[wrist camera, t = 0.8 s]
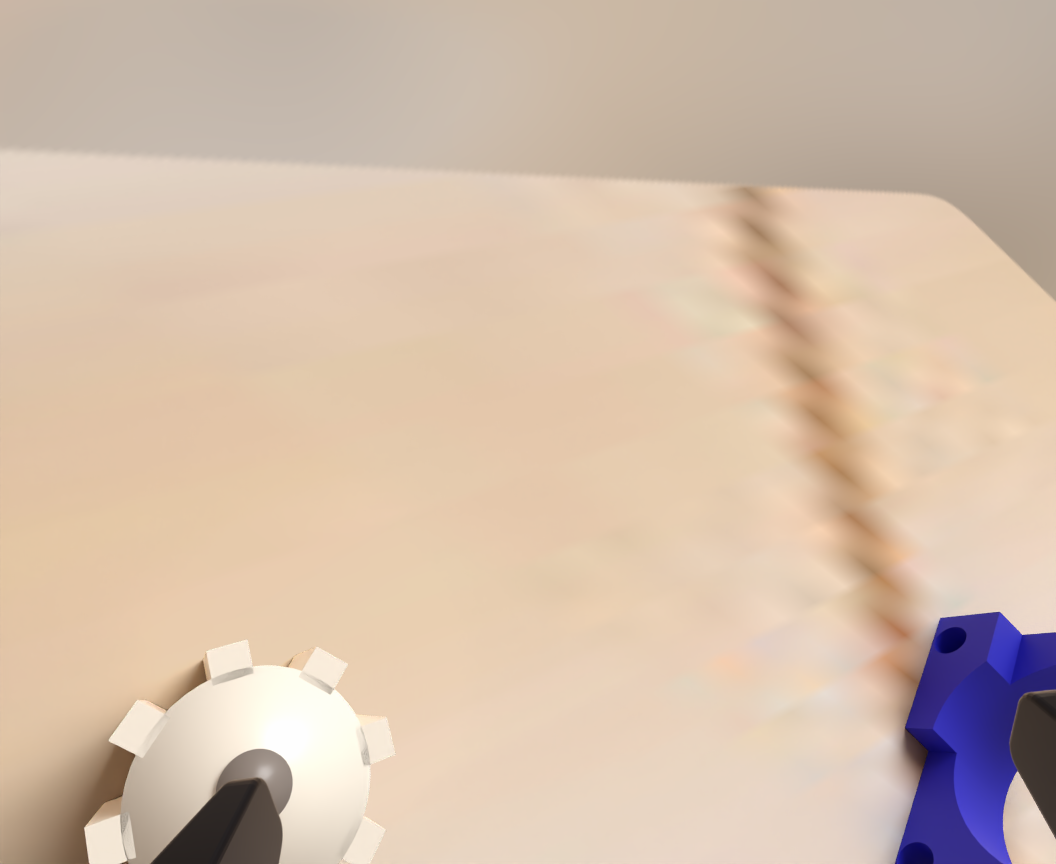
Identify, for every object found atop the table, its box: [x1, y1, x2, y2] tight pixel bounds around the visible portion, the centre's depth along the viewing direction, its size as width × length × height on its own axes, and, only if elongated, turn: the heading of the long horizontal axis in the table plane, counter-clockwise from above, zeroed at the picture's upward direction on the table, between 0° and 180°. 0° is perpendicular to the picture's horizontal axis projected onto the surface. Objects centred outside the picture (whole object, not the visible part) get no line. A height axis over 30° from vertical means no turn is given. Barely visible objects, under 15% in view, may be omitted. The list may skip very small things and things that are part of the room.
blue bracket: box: [895, 612, 1056, 864], centre depth 27 cm, size 12×4×6 cm, turn 141°
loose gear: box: [84, 640, 396, 864], centre depth 17 cm, size 6×6×4 cm
